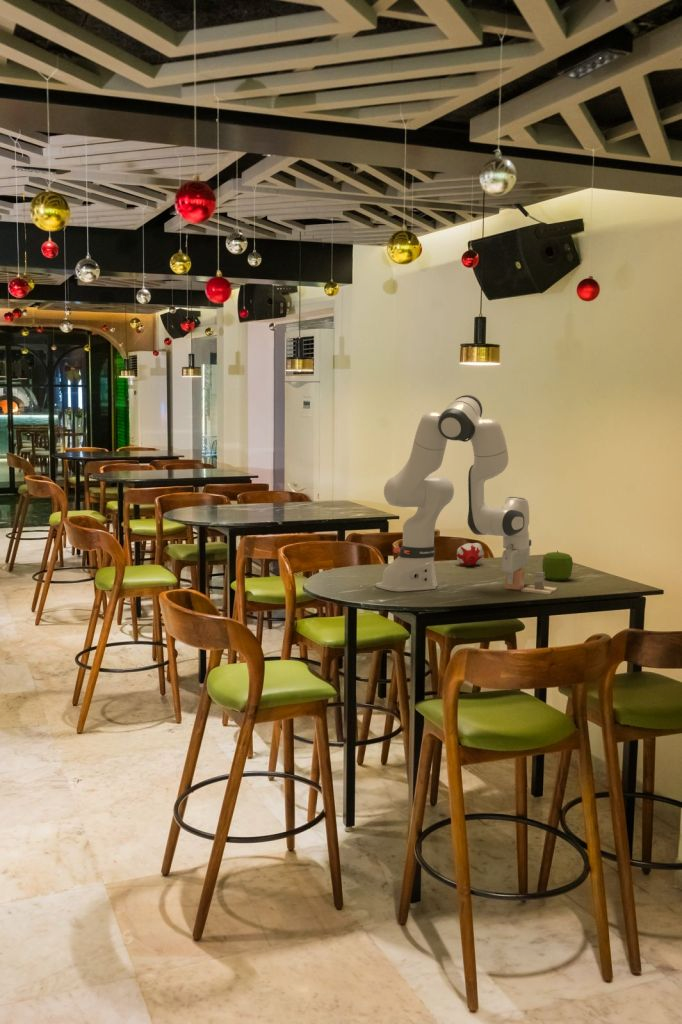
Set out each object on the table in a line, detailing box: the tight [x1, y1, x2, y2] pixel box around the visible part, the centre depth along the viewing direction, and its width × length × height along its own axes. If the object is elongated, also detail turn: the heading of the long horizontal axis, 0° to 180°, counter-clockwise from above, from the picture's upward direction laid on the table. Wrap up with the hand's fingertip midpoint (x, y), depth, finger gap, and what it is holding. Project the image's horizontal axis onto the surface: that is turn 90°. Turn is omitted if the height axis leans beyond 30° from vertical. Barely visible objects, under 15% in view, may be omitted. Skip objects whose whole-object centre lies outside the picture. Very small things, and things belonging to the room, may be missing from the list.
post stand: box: [520, 571, 558, 595], centre depth 318 cm, size 10×10×6 cm
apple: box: [542, 550, 573, 582], centre depth 340 cm, size 11×11×11 cm
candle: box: [455, 542, 485, 567], centre depth 370 cm, size 9×11×15 cm
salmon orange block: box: [504, 568, 526, 591], centre depth 322 cm, size 5×5×7 cm
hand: (514, 581), depth 323 cm, fingers open, 8 cm apart
